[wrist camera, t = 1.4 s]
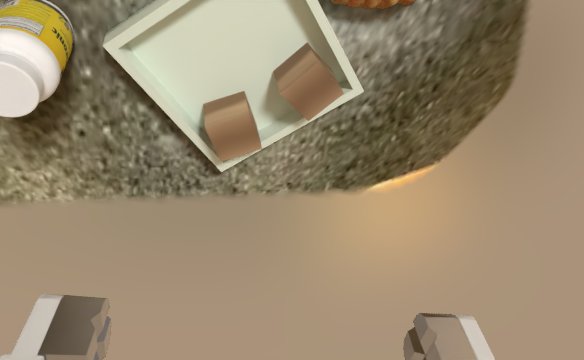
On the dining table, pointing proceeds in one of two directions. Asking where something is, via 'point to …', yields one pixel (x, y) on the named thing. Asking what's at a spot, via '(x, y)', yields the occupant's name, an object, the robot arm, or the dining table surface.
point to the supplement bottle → (31, 53)
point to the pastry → (372, 3)
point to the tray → (226, 60)
